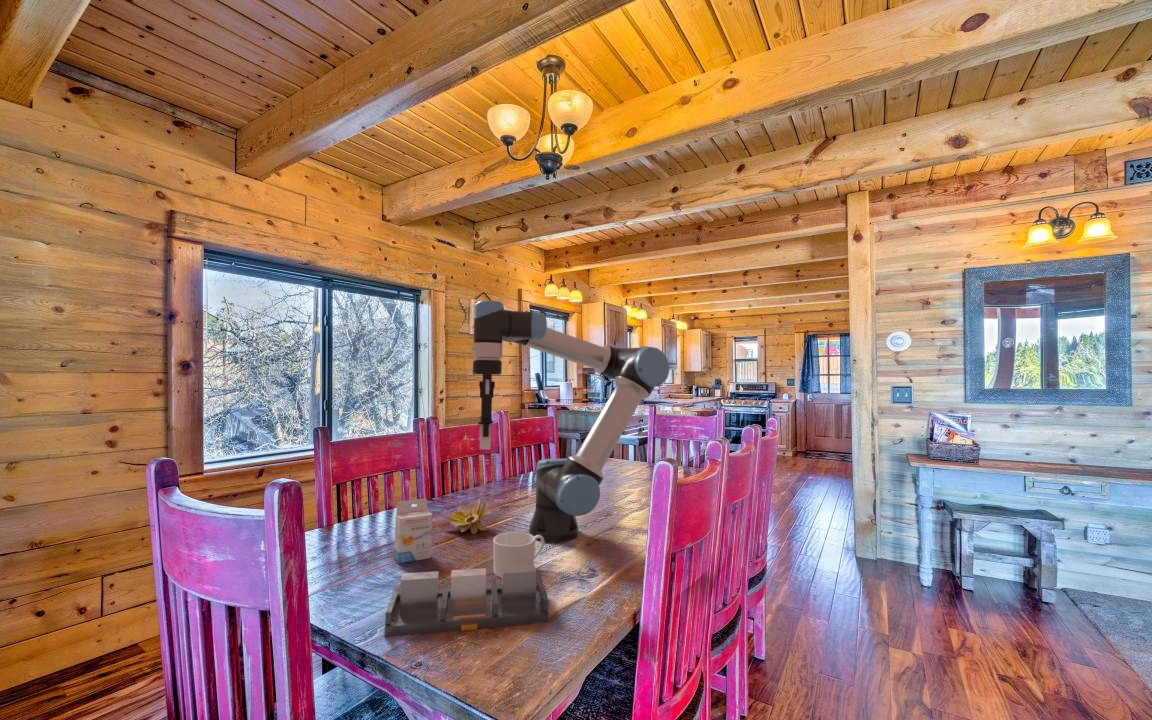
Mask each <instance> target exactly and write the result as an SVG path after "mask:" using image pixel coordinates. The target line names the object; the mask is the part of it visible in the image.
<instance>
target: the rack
mask: <svg viewBox="0 0 1152 720" xmlns="http://www.w3.org/2000/svg"><path fill="white" fill-rule="evenodd" d="M536 568H537V567H536V566H535V565H530V566H514V567H502V578H501V584H500V587H499V586H498V587H497V578H496V577H491V578H490V579H491V580H490V587H486V603H485V609H479V610H466V611H454V612H450V599H451V590H450V580H444V582H443V589H442V591H439V578H440V577H439V575H440V573H439V571H423V572H421V571H420V572H407V573H402V575H401V579H400V583H397V584H395V586H394V588H393V591H392V593H391V597H390V600H389V602H388V605H387V607H386V610H385V621H384V622H385V623H384V635H383V637H394V636H395V637H396V636H405V635H406V636H407V635H416V634H418V635H419V634H428V633H429V634H430V633H438V632H439V633H441V632H450V631H451V632H452V631H462V632H464V631H473V630H475V631H476V630H478V629H484V628H497V627H507V626H518V625H519V626H520V625H529V624H530V625H531V624H541V623H549V620H550V619H549V616H550V615H549V614H550V613H549V597H548V593H547V590H546V588H545V584H544V581H543V578H542V576H541V575H542V574H537V569H536Z"/></svg>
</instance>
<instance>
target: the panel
mask: <svg viewBox="0 0 1152 720" xmlns="http://www.w3.org/2000/svg"><path fill="white" fill-rule="evenodd" d="M486 588H487V568H485V567H484V568H483V567H481V568H467V569H452V570H451V573H450V591H451V599H450V612H454V611H466V610H479V609H485V603H486Z"/></svg>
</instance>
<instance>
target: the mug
mask: <svg viewBox="0 0 1152 720" xmlns="http://www.w3.org/2000/svg"><path fill="white" fill-rule="evenodd" d="M538 538H540V539H541V541H540V544H539V547H538V549H537V550H536V539H538ZM492 546H493V547H492V548H493V553H492V554H493V555H492V556H493V559H492V561H493V573H494V575H495V576H496V577H498V578H500V579H502V567H514V566H530V565H534V564H535V563H534V562H535V559H536V558H537V557H538V556H539V554H540V553H541V552H542V550H543V549H544V548H545V547H544V546H545V541H544V538H543V537H542V536H541V535H536V536H533V535H531V534H529V533H528V532H524V531H507V532H503V533H499V534H497V535H495V536H494V537H493V539H492ZM535 550H536V551H535Z"/></svg>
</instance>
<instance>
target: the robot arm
mask: <svg viewBox="0 0 1152 720" xmlns="http://www.w3.org/2000/svg"><path fill="white" fill-rule="evenodd" d="M547 320H548V319H547V317H546V315H545V314H544V313H543V312H537V311H536V312H535V311H525V310H524V311H523V310H522V311H520V310H508V309H505V307H504V303H503V302H501V301H497V300H491V299H489V300H488V299H487V300H479V301H477V302H476V303H475V306H474V315H473V346H471V347H470V350H472V351H473V356H472V357H473V358H474V359H473V361H472V374H473V375H482V380H480V381H478V382H479V386H478V387H479V397H480V398H479V399H481V401H480V403H481V405H480V409H481V410H480V421H478V425H480V426H479V429H480V433H479V437H480V438H479V439H480V440H479V450H491V449H492V448H491V444H492V424H494V420H492V406H493V405H492V403H493V401H492V400H493V398H494V389H495V385H496V383H495V380H494V381H492V377H493V376H492V375H501V374H502V370H503V369H502V365H503V364H502V363H503V362H502V361H501V359H502V358H503V341H504V342H506V343H513V344H514V343H515V344H518V345H520V346H524V347H527V348H529V349H532V350H535V351H540V352H542V353H545V354H548V355H551V356H555V357H557V358H561V359H563V360H566V361H569V362H573V363H576V364H578V365H582V366H585V367H587V368H590V369H594V371H595V373H597V374H599V375H602V376H605V377H607V378H609V379H612V380H614V381H615V384H616V385H615V387H614V389H613V390H612V392H611V394H610V395H609V397H608V398H607V400H606V401H605V402H606V403H605V404H604V406H603V408H602V409H601V410H600V413H599V414H598V416H597V418H596V420H595V421H594V423H593V425H592V426H591V429H590V430H589V432H588V433H587V435H586V437H585V439H584V440H583V442H582V444H581V445H580V447H579V449H578V451H577V452H576V454H574V455H571V456H568V457H567V458H546V459H540V460H538V461H537V463H536V470H535V477H536V478H535V509H534V512H533V516H532V519H531V520H530V524H529V533H528V534H531V535H533V536H536V535H541V536H542V537H543V538H544V543H545V542H547V543H561V542H568V541H571V540H574V539H576V538H577V537H578V536H579V524H578V521H577V517H581V516H583V515H584V516H585V515H588V514H589V513H591V512H592V511H593V510H594V509H595V508H596V506H597V505H599V501H600V499H601V492H600V491H601V487H600V485H601V483H602V482H603V480H604V475H603V468H604V466H605V465H606V463H607V461H608V459H609V458H610V456H611V454H612V452H613V451H614V449H615V447H616V445H617V444H618V442H619V440H620V438H621V437H622V435H623V433H624V431H625V430H626V427H627V426H628V424H629V422H630V420H631V418H632V417H633V415H634V414H635V412H636V410H637V408H638V406H639V405H640V403H641V401H642V400H644V399H648V398H649V397H650V395H651V394H652V392H653V390H654V388H656V387H659V386H661V385H663V384H664V383H665V382H666V380H667V379H668V377H669V374H670V365H669V361H668V360H669V359H668V357H667V356H666V354H665V353H664V352H663V351H662V350H661V349H659V348H657V347H655V346H654V347H653V346H646V345H645V346H641V347H627V348H625V347H614V346H611V345H608V344H605V345H602V346H601V345H599V344H595V343H593V342H590V341H587V340H583V339H581V338H578V337H576V336H572V335H570V334H567V333H564V332H560V331H559V330H558V331H557V330H555V329H552V328H550V327H548V322H547ZM536 540H537V541H540V542H541V539H540V538H538V539H536ZM536 540H535V541H536Z"/></svg>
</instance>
